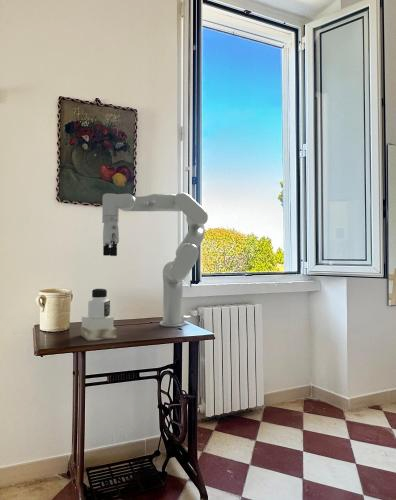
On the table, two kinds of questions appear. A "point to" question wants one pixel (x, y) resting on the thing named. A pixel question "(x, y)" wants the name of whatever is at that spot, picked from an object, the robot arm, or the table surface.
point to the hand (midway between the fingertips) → (109, 255)
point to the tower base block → (98, 334)
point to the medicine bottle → (99, 304)
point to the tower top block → (97, 323)
